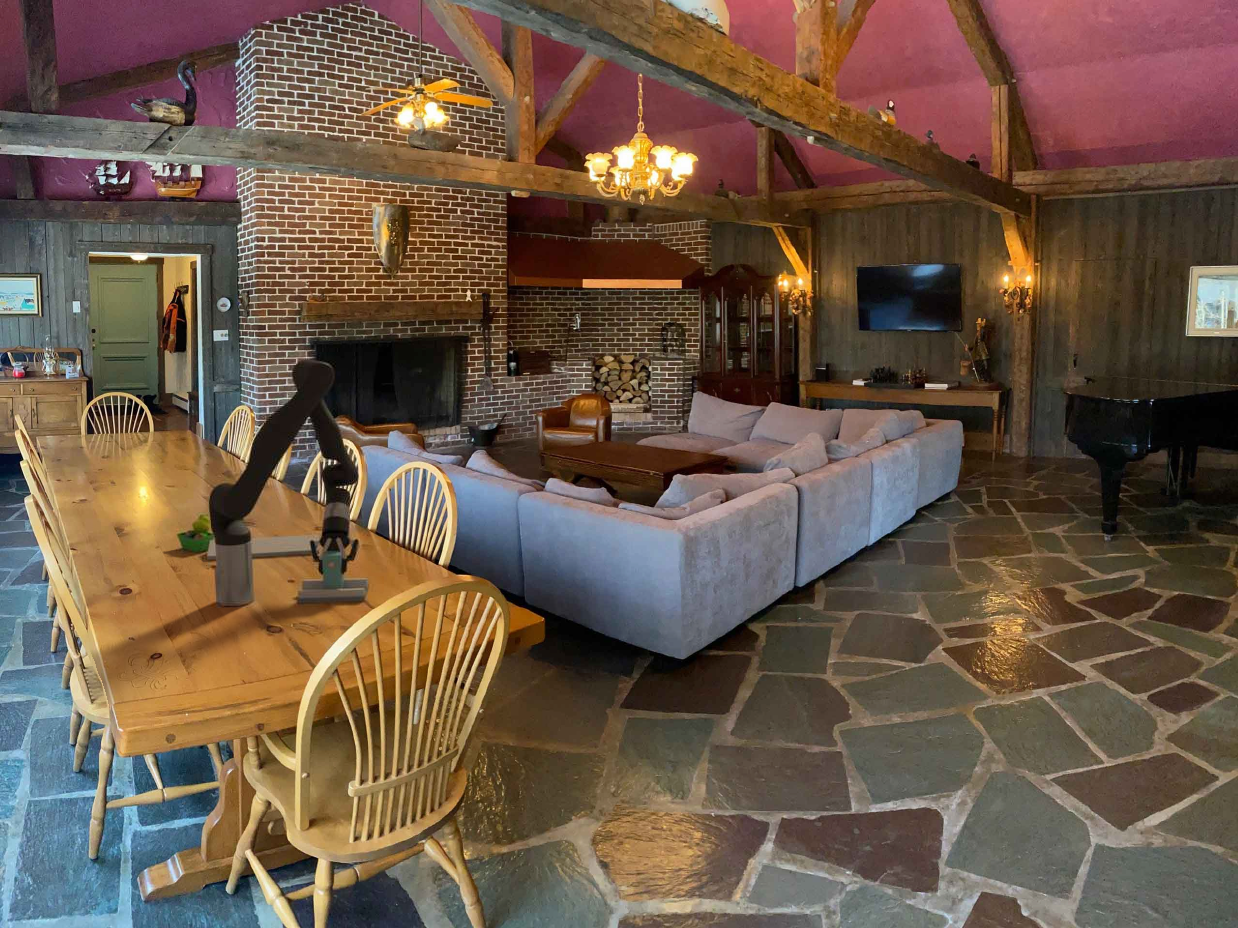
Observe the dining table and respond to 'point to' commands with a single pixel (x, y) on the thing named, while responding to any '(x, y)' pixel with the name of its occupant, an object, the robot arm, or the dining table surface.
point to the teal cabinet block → (332, 570)
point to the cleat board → (333, 591)
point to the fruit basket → (197, 535)
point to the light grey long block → (275, 546)
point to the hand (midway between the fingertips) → (332, 573)
